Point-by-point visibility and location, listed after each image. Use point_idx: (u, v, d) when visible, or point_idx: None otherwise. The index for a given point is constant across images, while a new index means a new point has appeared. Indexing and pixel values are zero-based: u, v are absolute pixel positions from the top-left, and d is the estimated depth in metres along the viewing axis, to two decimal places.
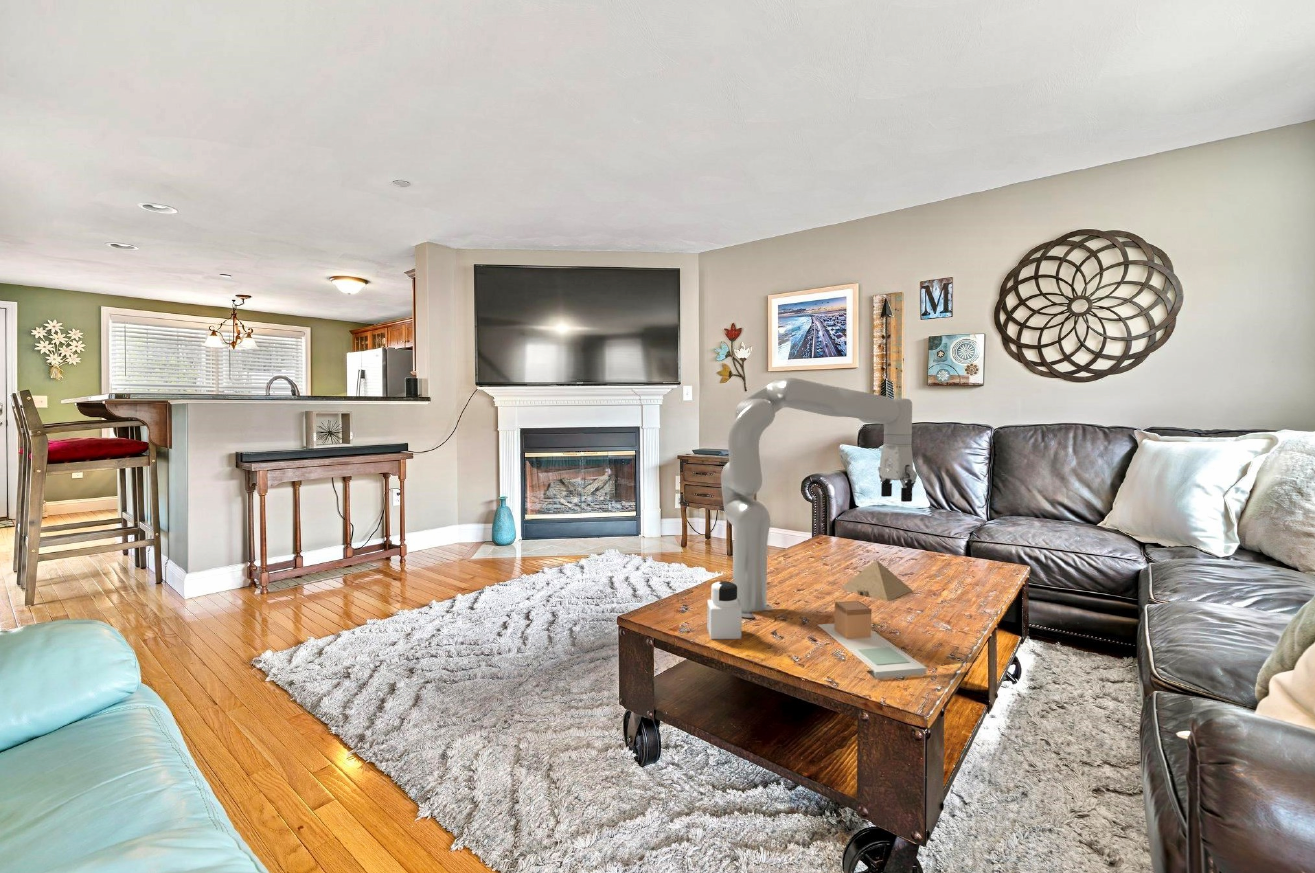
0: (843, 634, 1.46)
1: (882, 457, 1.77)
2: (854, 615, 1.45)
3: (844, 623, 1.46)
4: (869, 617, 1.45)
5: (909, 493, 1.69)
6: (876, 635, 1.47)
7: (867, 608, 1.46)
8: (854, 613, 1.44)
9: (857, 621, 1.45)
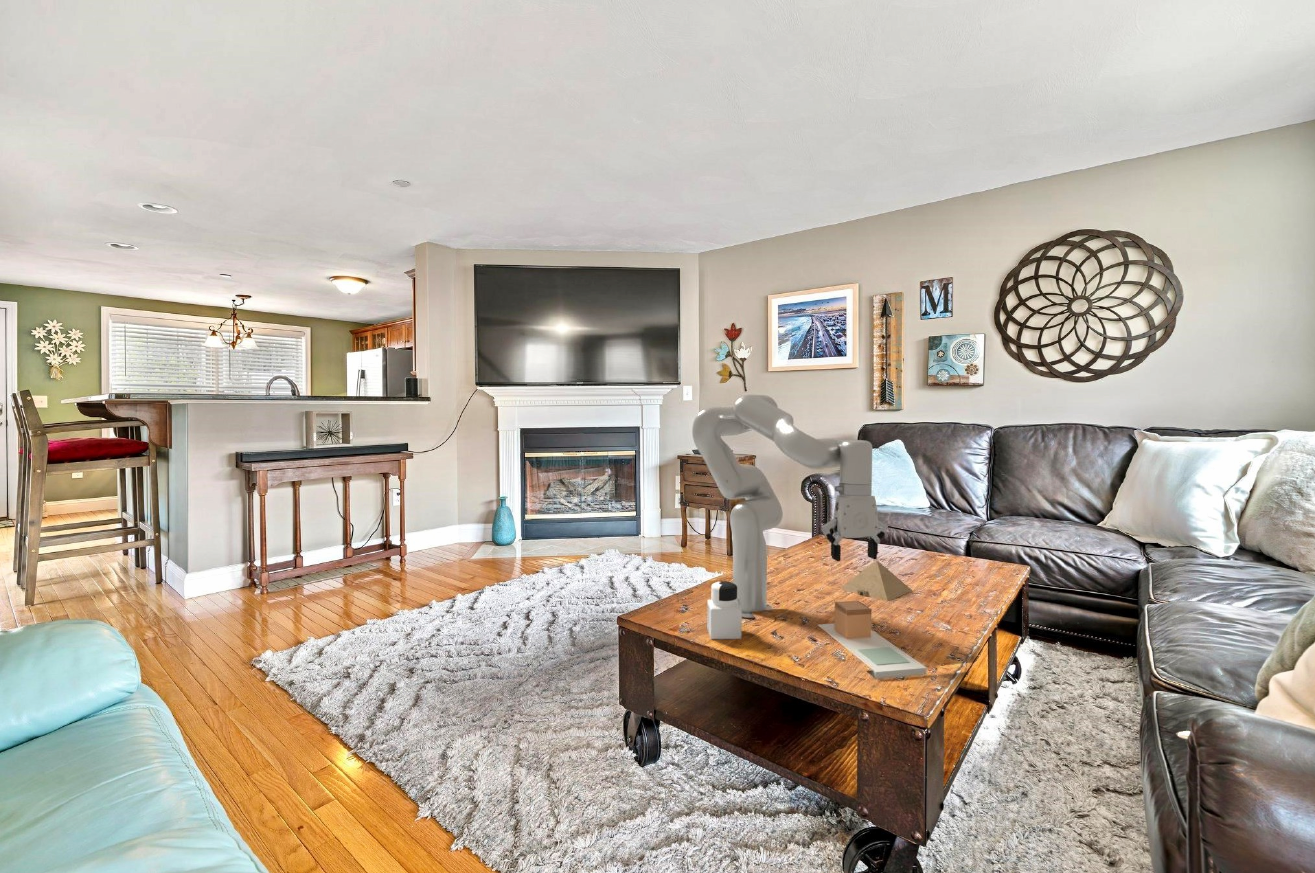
0: (843, 634, 1.46)
1: (848, 513, 1.43)
2: (854, 615, 1.45)
3: (844, 623, 1.46)
4: (869, 617, 1.45)
5: None
6: (876, 635, 1.47)
7: (867, 608, 1.46)
8: (854, 613, 1.44)
9: (857, 621, 1.45)
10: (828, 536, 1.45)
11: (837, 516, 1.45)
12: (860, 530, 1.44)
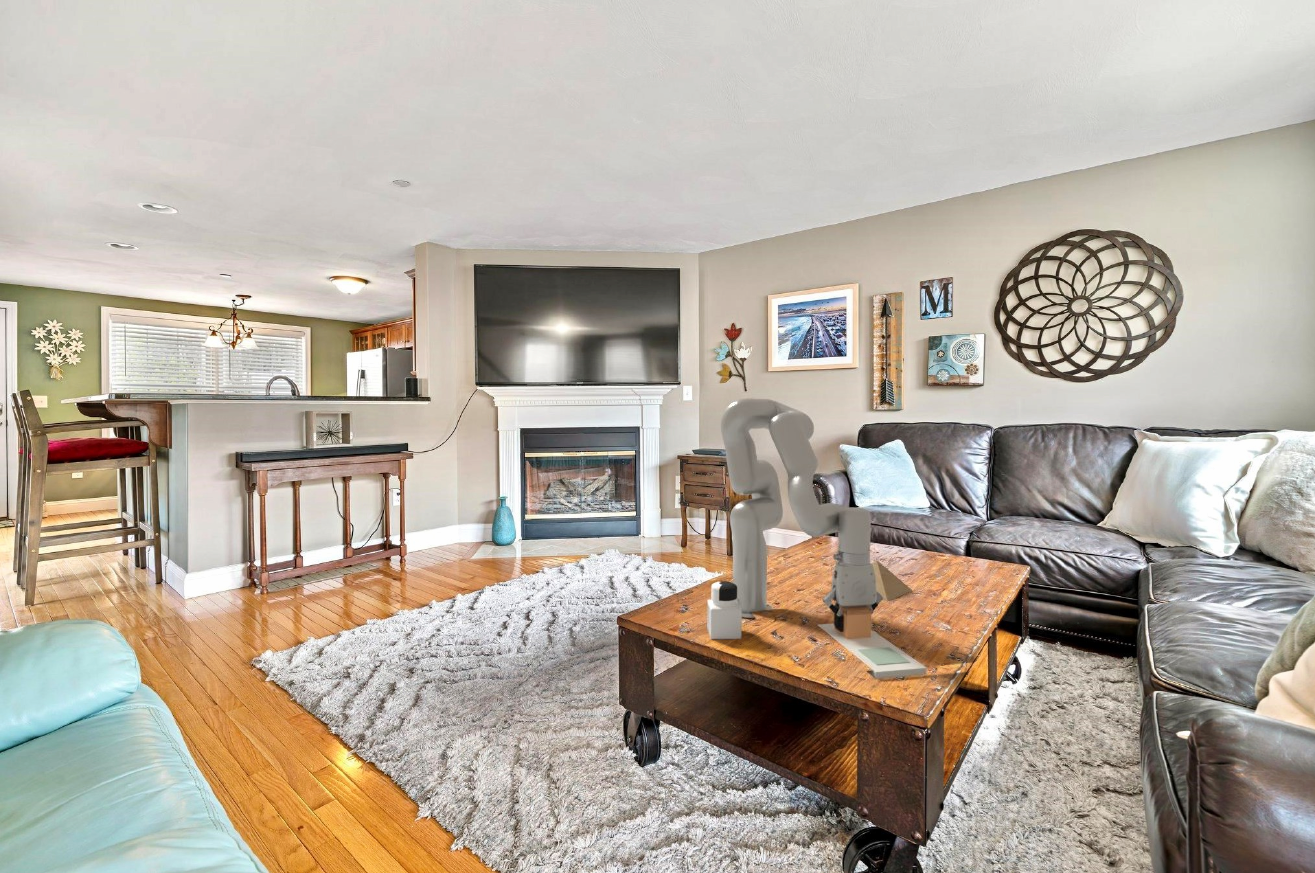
0: (843, 634, 1.46)
1: (846, 582, 1.44)
2: (854, 615, 1.45)
3: (844, 623, 1.46)
4: (869, 617, 1.45)
5: None
6: (876, 635, 1.47)
7: (867, 608, 1.46)
8: (854, 613, 1.44)
9: (857, 621, 1.45)
10: (831, 607, 1.46)
11: (835, 586, 1.46)
12: (858, 599, 1.45)
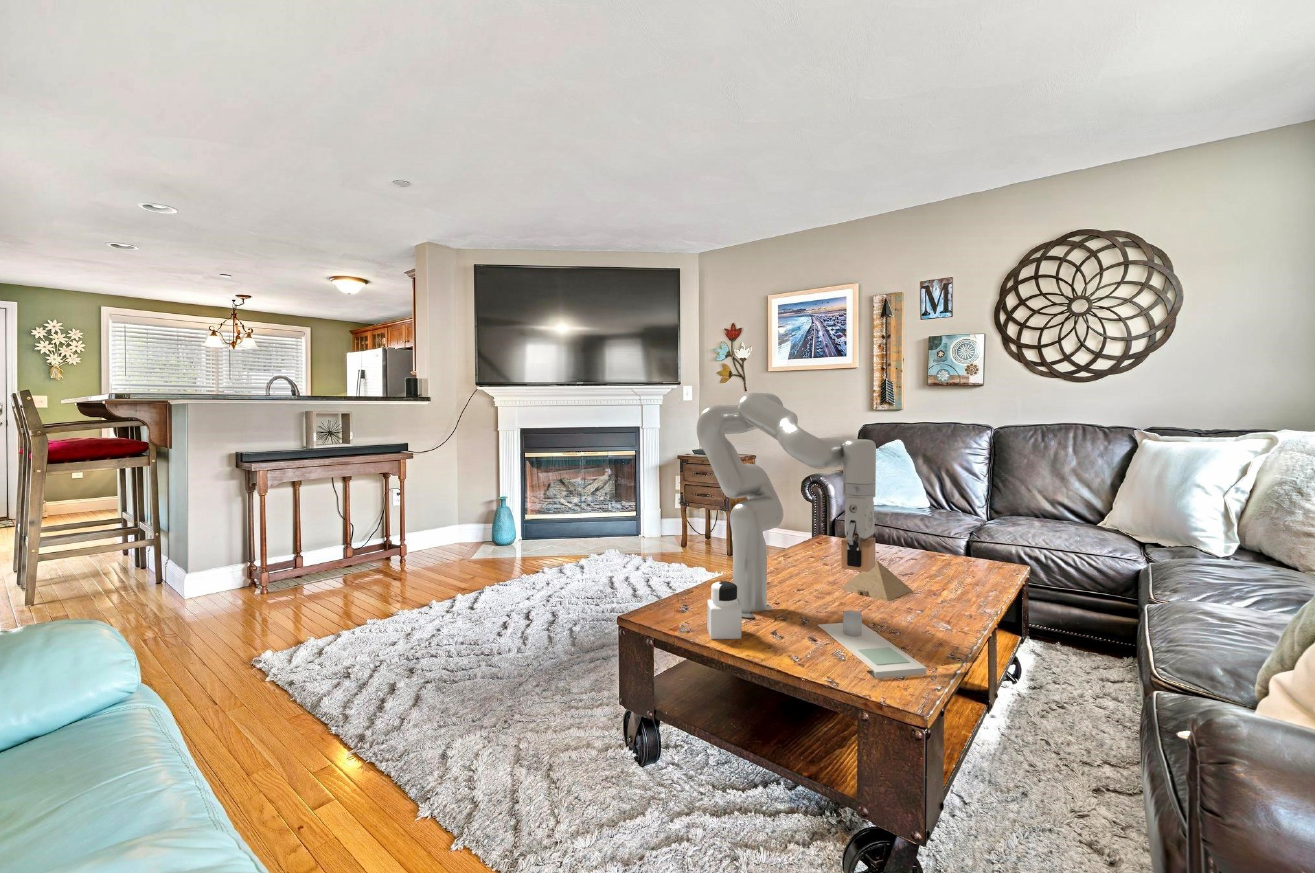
0: (861, 569, 1.42)
1: (866, 514, 1.41)
2: (870, 546, 1.42)
3: (863, 557, 1.42)
4: (874, 546, 1.46)
5: None
6: (876, 635, 1.47)
7: (872, 538, 1.46)
8: (870, 544, 1.42)
9: (871, 552, 1.43)
10: (855, 543, 1.40)
11: (855, 520, 1.40)
12: (870, 529, 1.43)
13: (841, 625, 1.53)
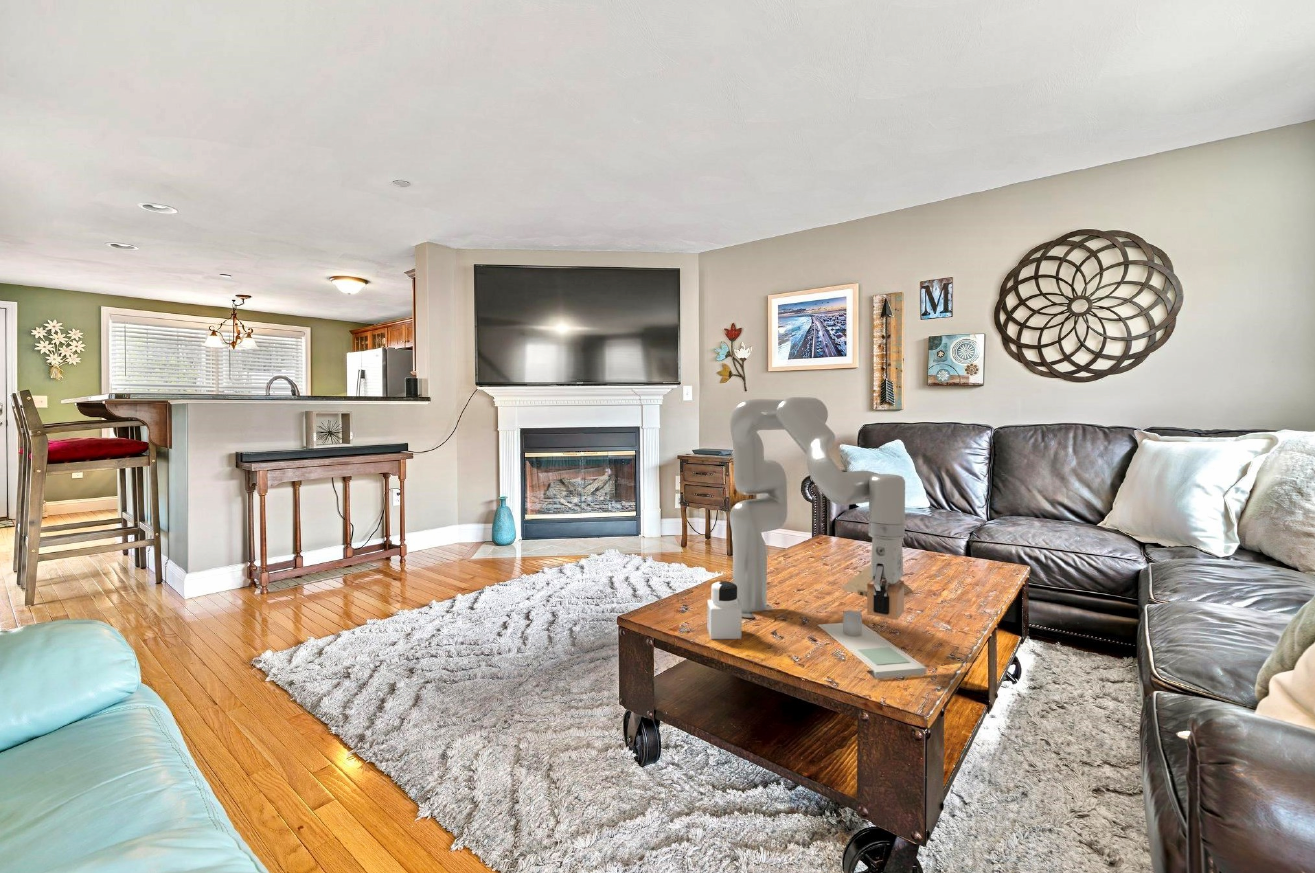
0: (889, 616, 1.30)
1: (895, 557, 1.29)
2: (899, 591, 1.31)
3: (891, 603, 1.30)
4: (903, 590, 1.34)
5: None
6: (876, 635, 1.47)
7: (900, 581, 1.34)
8: (899, 589, 1.31)
9: (900, 597, 1.31)
10: (882, 589, 1.28)
11: (883, 564, 1.29)
12: (899, 573, 1.32)
13: (841, 625, 1.53)
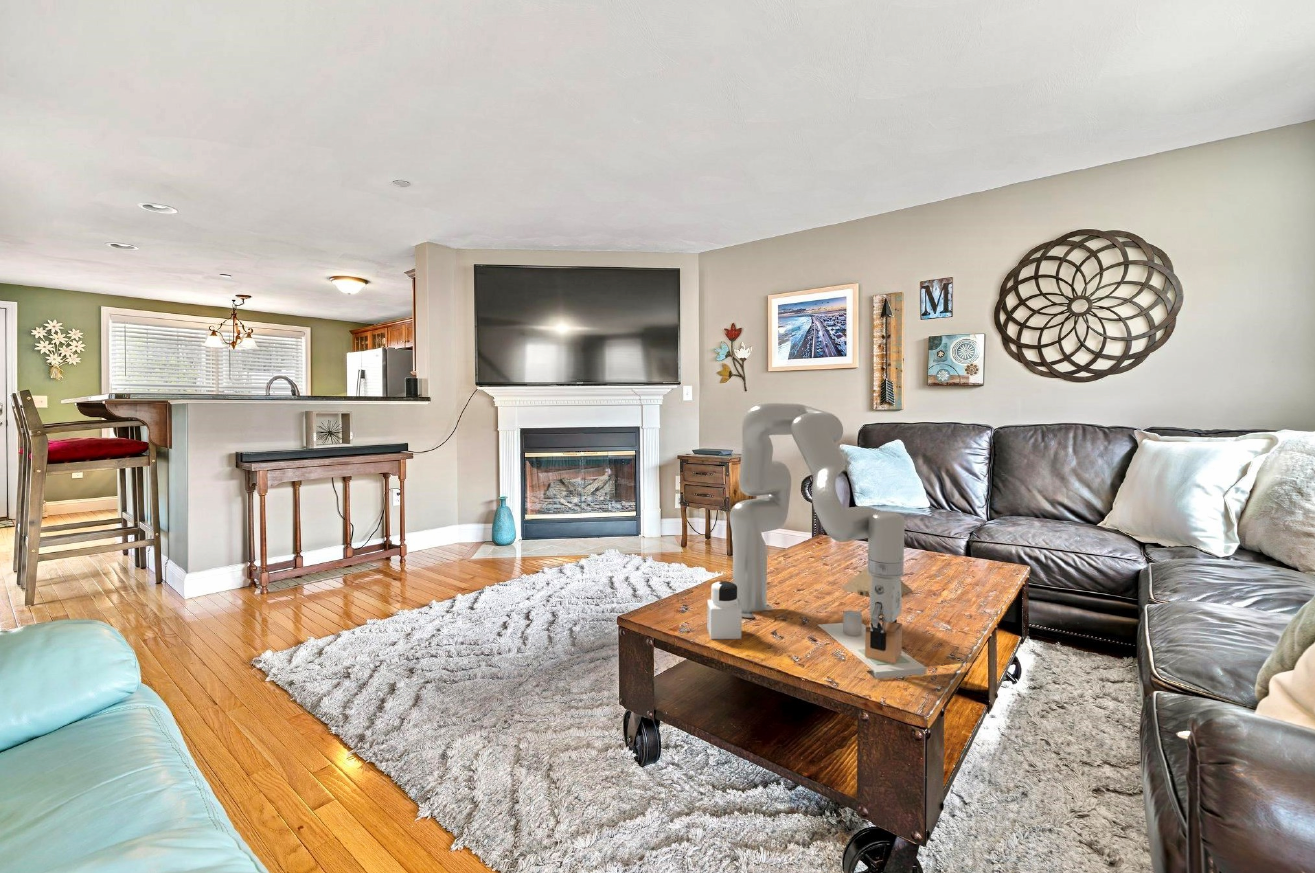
0: (887, 659, 1.31)
1: (893, 595, 1.29)
2: (897, 635, 1.31)
3: (889, 647, 1.31)
4: (901, 633, 1.35)
5: None
6: None
7: (898, 624, 1.35)
8: (897, 633, 1.31)
9: (898, 641, 1.32)
10: (879, 626, 1.27)
11: (882, 601, 1.29)
12: (897, 611, 1.32)
13: (841, 625, 1.53)
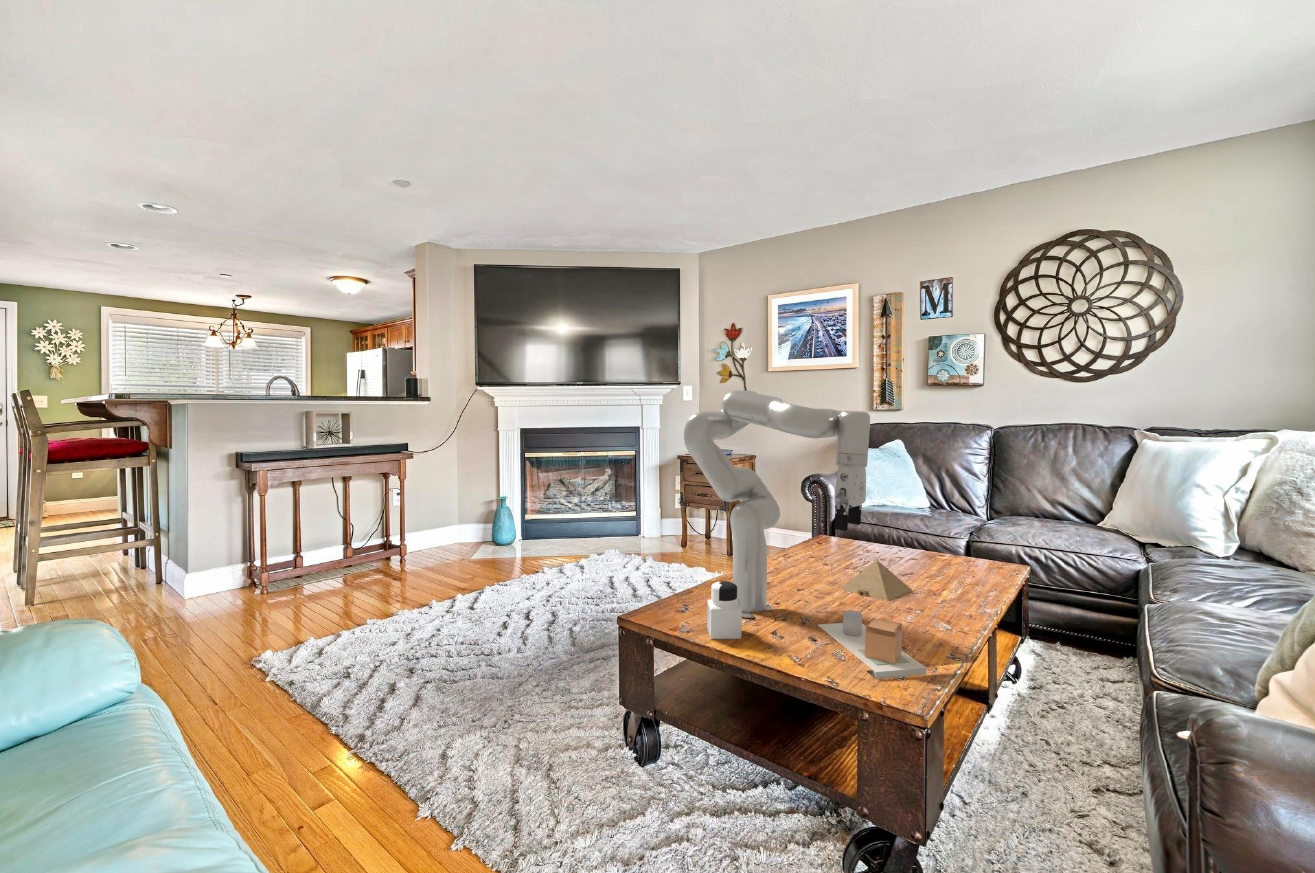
0: (887, 659, 1.31)
1: (856, 482, 1.46)
2: (897, 635, 1.31)
3: (889, 647, 1.31)
4: (901, 633, 1.35)
5: None
6: None
7: (898, 624, 1.35)
8: (897, 633, 1.31)
9: (898, 641, 1.32)
10: (842, 507, 1.44)
11: (846, 486, 1.46)
12: (860, 498, 1.49)
13: (841, 625, 1.53)
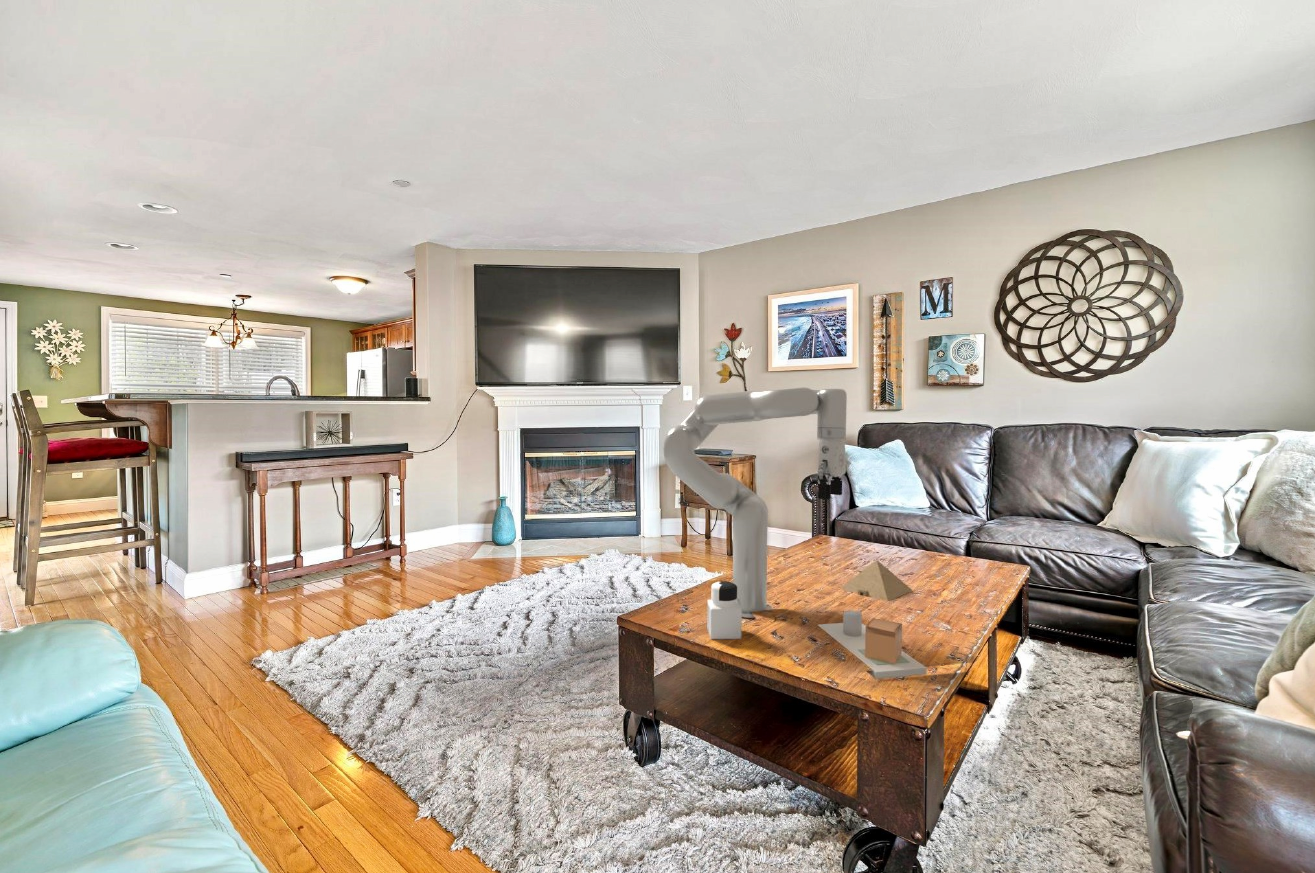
0: (887, 659, 1.31)
1: (837, 454, 1.58)
2: (897, 635, 1.31)
3: (889, 647, 1.31)
4: (901, 633, 1.35)
5: None
6: None
7: (898, 624, 1.35)
8: (897, 633, 1.31)
9: (898, 641, 1.32)
10: (824, 477, 1.56)
11: (827, 458, 1.57)
12: (841, 469, 1.61)
13: (841, 625, 1.53)
